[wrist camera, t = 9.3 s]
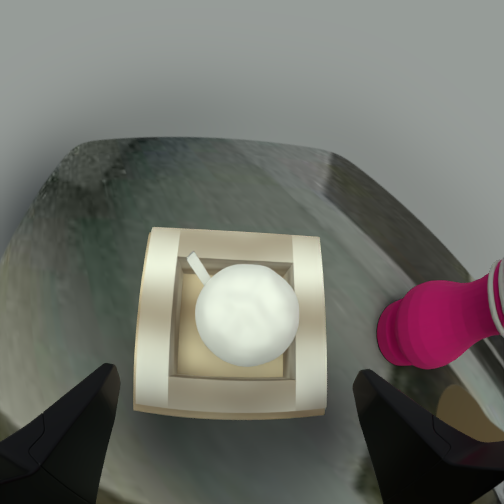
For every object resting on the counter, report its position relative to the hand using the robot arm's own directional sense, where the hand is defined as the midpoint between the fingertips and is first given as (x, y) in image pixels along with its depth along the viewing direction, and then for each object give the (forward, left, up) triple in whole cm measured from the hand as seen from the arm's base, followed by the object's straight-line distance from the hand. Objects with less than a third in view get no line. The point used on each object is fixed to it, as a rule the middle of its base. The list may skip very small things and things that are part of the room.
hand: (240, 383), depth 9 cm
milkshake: (+2, -2, -10) cm, 11 cm away
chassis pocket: (+2, -3, -11) cm, 12 cm away
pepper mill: (-11, -12, -12) cm, 20 cm away
